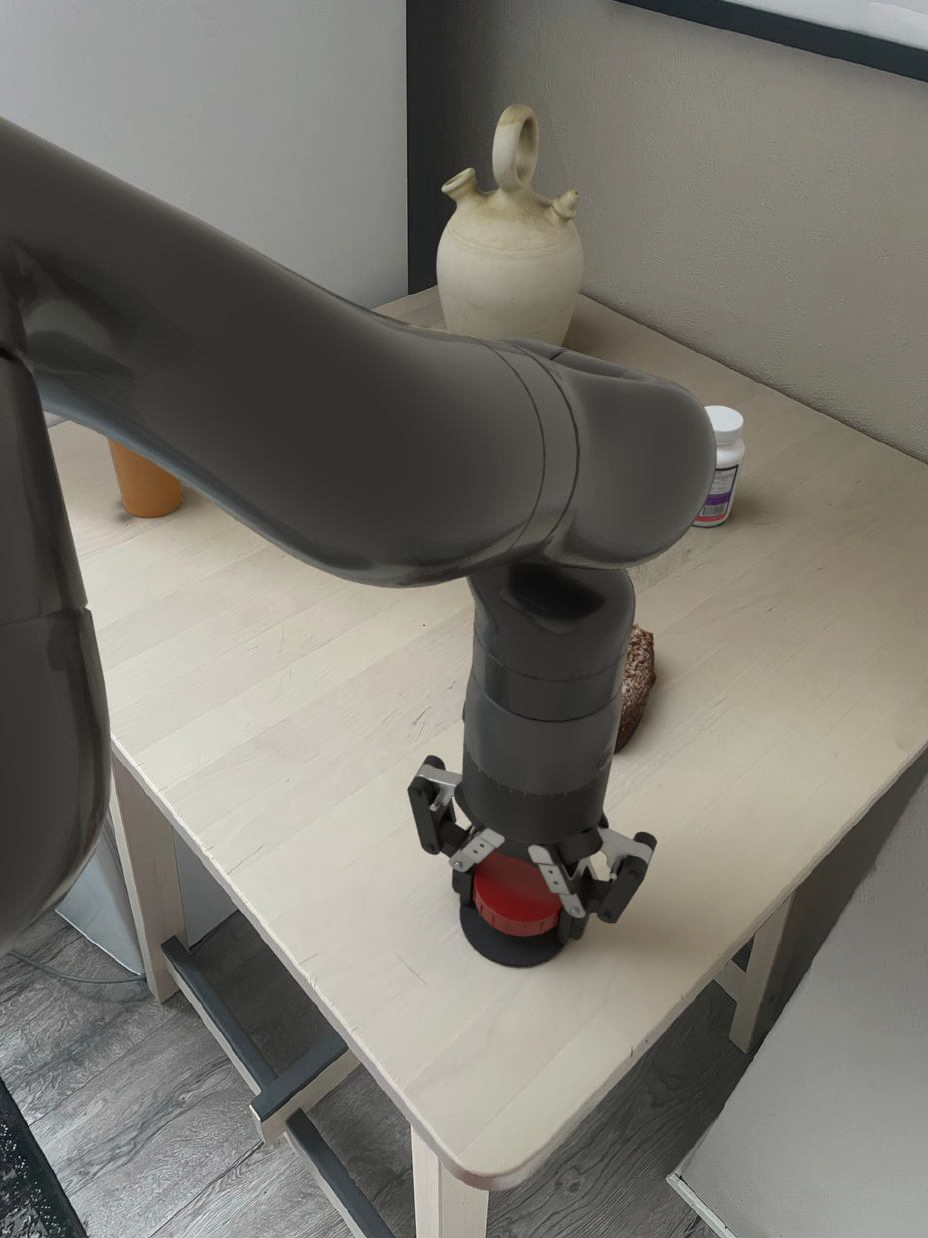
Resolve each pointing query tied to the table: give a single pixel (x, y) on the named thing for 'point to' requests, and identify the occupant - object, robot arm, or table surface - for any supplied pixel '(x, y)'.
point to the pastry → (636, 684)
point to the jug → (510, 246)
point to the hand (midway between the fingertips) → (518, 911)
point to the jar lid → (514, 896)
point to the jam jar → (144, 484)
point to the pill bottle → (723, 464)
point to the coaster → (507, 941)
